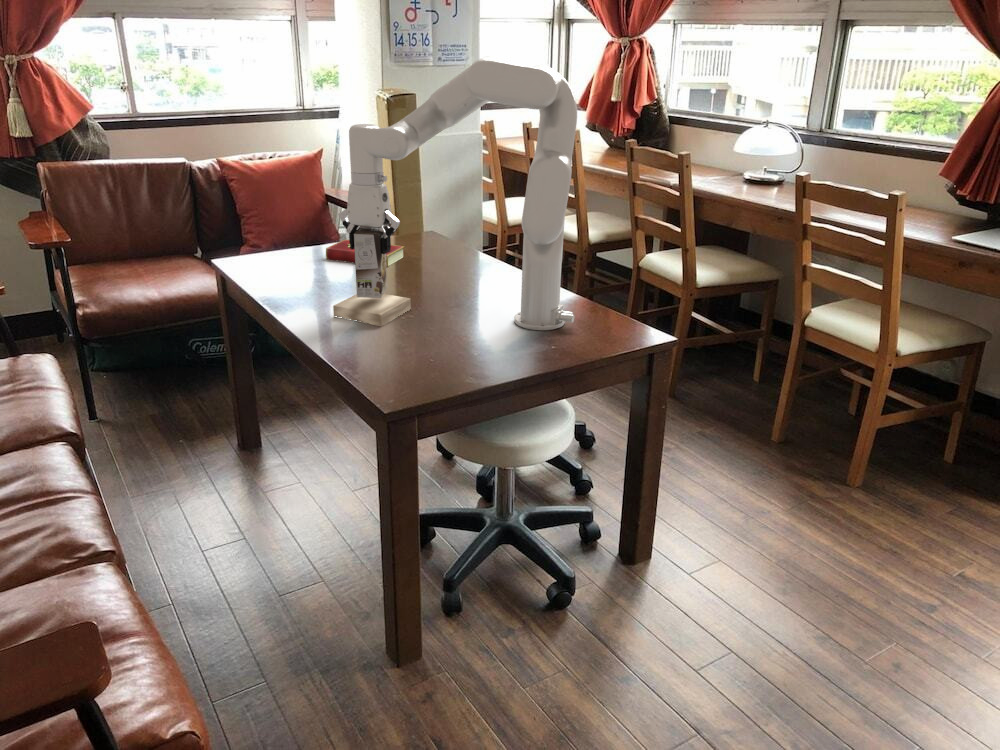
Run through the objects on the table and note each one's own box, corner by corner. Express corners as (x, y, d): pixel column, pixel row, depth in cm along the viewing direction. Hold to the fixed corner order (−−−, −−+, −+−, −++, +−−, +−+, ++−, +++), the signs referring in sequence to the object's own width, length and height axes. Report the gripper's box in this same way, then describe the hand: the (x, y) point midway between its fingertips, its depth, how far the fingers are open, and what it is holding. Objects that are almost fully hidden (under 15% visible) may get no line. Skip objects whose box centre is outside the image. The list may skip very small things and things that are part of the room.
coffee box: (382, 298, 200) (379, 234, 193) (356, 297, 200) (352, 233, 194) (388, 287, 208) (385, 225, 202) (363, 286, 208) (359, 224, 202)
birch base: (410, 309, 210) (410, 298, 208) (381, 326, 198) (381, 314, 197) (365, 301, 215) (364, 290, 214) (333, 317, 203) (333, 305, 202)
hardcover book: (387, 268, 244) (387, 255, 243) (326, 260, 251) (325, 247, 249) (404, 258, 255) (404, 245, 253) (345, 251, 261) (344, 238, 259)
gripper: (406, 179, 192) (408, 251, 200) (345, 172, 199) (349, 242, 206) (390, 185, 186) (392, 258, 193) (327, 177, 193) (331, 249, 200)
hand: (370, 250), depth 200 cm, fingers closed on coffee box, 8 cm apart
